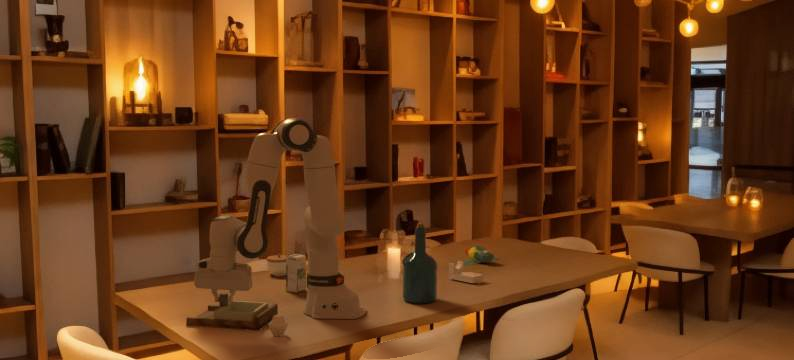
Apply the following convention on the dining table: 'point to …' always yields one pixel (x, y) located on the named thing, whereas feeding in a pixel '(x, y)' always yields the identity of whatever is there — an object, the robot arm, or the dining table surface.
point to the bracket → (463, 274)
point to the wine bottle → (419, 272)
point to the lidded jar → (277, 265)
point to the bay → (209, 321)
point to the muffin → (278, 325)
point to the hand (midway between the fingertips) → (223, 301)
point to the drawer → (238, 309)
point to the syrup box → (295, 273)
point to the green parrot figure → (478, 256)
